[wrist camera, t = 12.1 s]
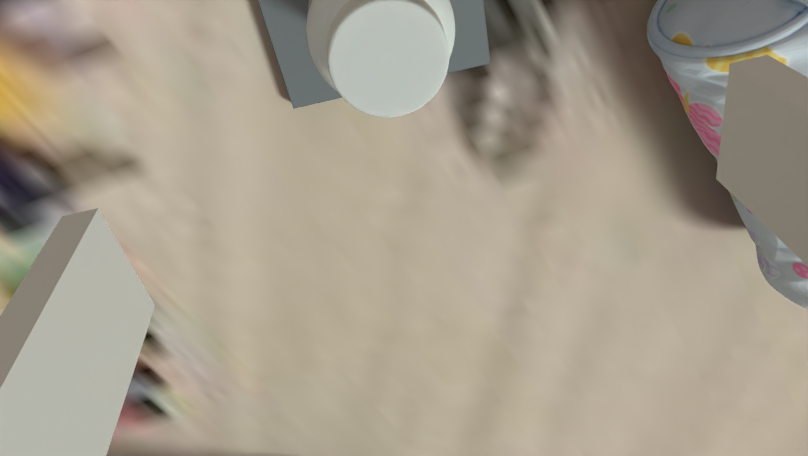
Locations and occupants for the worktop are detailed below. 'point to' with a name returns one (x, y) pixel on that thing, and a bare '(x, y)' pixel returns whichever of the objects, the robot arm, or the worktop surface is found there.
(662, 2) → the pencil case
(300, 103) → the slate mat
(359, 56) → the pill bottle
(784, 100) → the robot arm
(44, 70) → the worktop surface
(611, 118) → the worktop surface
